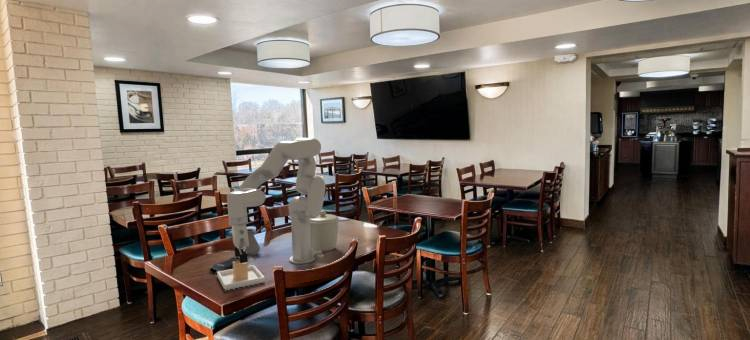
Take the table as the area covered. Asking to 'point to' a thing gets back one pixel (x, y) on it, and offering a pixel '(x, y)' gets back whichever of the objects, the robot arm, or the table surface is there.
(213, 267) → the electronic device
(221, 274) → the tray
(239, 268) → the block
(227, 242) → the table surface
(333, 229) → the canister
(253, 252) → the coffee pot
